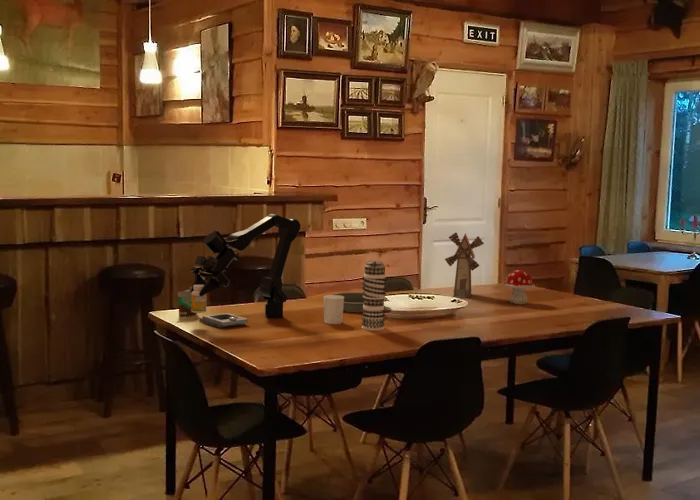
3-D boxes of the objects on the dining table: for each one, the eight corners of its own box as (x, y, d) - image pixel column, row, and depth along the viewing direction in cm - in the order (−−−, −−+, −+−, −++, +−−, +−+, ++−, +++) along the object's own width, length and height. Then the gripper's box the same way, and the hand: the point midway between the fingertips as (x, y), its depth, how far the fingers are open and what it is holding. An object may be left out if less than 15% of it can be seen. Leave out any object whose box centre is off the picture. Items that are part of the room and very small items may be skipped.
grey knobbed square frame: (199, 321, 311) (199, 313, 311) (224, 318, 319) (224, 309, 318) (223, 328, 300) (223, 320, 299) (248, 325, 307) (248, 316, 307)
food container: (192, 318, 317) (192, 292, 316) (177, 317, 318) (177, 291, 317) (204, 312, 329) (204, 287, 328) (190, 311, 330) (190, 286, 329)
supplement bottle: (192, 310, 304) (192, 284, 302) (207, 310, 304) (207, 284, 303) (190, 313, 298) (190, 286, 297) (205, 313, 299) (205, 286, 298)
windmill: (442, 296, 380) (445, 232, 376) (444, 292, 393) (446, 229, 389) (481, 299, 377) (484, 233, 374) (481, 294, 390) (484, 231, 386)
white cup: (346, 321, 318) (347, 296, 317) (338, 325, 311) (338, 299, 310) (328, 319, 322) (329, 294, 320) (319, 323, 315) (320, 297, 313)
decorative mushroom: (501, 299, 377) (503, 267, 376) (532, 301, 376) (534, 268, 374) (502, 305, 364) (504, 271, 362) (535, 306, 362) (537, 272, 360)
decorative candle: (368, 331, 302) (370, 263, 299) (356, 326, 310) (358, 260, 308) (389, 329, 307) (392, 262, 304) (377, 324, 315) (379, 259, 312)
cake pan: (316, 306, 350) (316, 295, 350) (359, 300, 366) (359, 290, 366) (353, 315, 332) (354, 304, 331) (398, 309, 348) (398, 298, 347)
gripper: (194, 244, 308) (168, 276, 302) (222, 250, 294) (195, 283, 288) (212, 264, 314) (187, 295, 308) (240, 270, 300) (214, 303, 294)
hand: (195, 294), depth 300 cm, fingers closed on supplement bottle, 5 cm apart
